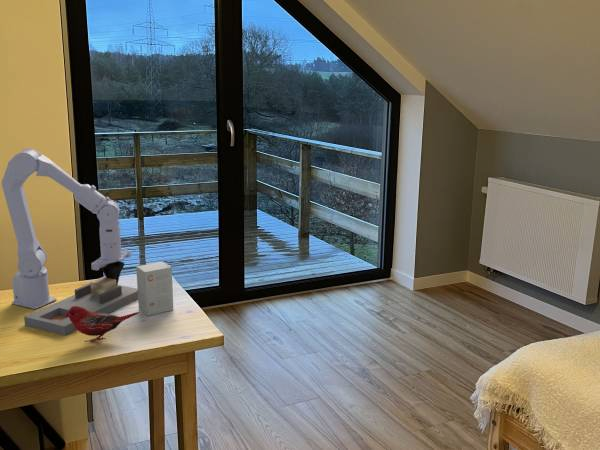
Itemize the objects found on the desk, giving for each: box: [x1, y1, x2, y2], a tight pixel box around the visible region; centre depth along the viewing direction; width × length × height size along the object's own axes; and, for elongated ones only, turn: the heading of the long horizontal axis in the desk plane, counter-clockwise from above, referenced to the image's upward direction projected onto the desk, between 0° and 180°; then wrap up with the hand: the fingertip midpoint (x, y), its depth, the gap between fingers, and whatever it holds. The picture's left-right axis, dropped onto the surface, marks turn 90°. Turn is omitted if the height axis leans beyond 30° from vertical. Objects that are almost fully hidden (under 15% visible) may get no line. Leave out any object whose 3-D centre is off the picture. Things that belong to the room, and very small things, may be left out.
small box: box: [135, 261, 174, 317], centre depth 165 cm, size 8×6×13 cm
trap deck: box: [23, 282, 138, 336], centre depth 164 cm, size 14×30×5 cm, turn 156°
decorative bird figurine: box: [64, 306, 140, 343], centre depth 145 cm, size 3×18×10 cm, turn 114°
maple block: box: [90, 276, 117, 297], centre depth 170 cm, size 5×5×4 cm
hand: (113, 286), depth 174 cm, fingers closed
